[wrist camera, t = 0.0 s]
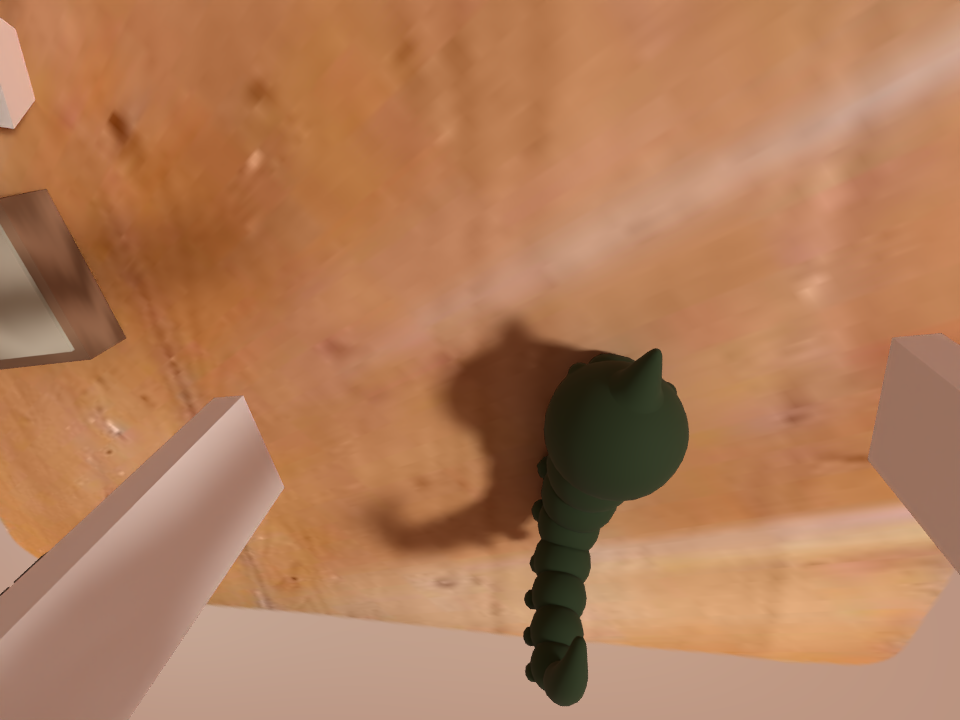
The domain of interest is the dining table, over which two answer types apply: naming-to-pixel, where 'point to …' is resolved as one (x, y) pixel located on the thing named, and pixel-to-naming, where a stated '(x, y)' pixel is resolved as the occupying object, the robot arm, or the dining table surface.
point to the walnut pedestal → (47, 289)
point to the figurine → (13, 79)
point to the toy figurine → (593, 495)
